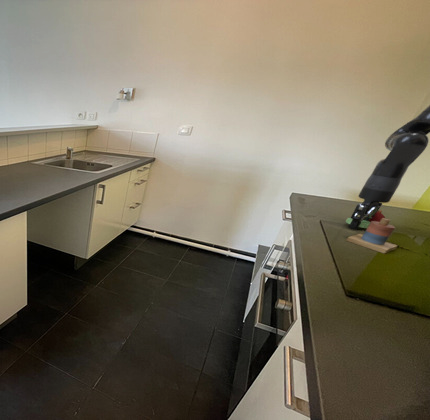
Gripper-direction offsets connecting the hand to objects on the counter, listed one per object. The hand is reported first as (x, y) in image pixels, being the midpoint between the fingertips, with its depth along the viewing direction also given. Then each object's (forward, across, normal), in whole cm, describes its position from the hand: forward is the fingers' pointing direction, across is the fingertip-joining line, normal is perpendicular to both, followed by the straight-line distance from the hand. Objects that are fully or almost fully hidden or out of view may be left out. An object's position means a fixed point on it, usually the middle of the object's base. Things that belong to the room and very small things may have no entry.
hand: (356, 227), depth 97 cm
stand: (+1, -13, -8) cm, 15 cm away
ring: (-1, 0, 0) cm, 1 cm away
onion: (+1, +9, -1) cm, 9 cm away
